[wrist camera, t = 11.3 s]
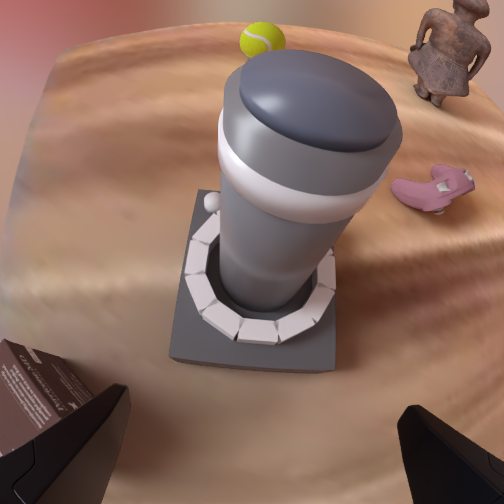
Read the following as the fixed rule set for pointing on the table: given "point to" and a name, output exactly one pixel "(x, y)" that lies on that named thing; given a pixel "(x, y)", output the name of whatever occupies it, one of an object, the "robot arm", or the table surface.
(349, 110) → the grey travel tumbler
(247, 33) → the tennis ball
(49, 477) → the robot arm
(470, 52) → the clay figurine
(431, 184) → the video game controller
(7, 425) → the box
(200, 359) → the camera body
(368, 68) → the table surface
